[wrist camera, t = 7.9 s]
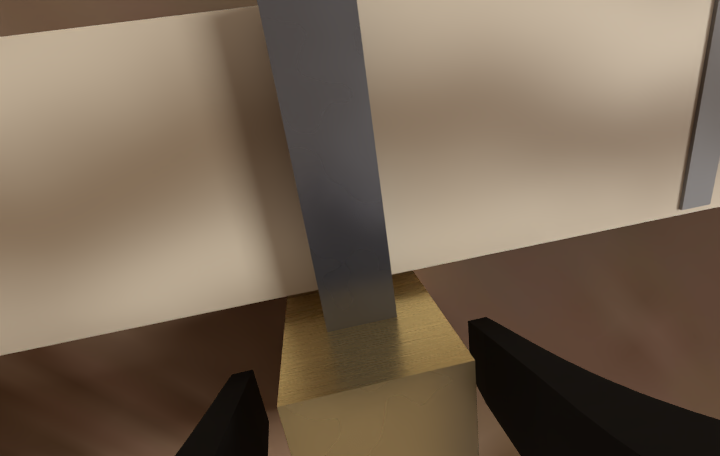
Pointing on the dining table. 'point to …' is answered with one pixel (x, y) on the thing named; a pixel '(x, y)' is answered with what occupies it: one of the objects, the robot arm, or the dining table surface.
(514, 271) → the dining table surface
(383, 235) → the marking gauge
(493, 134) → the maple board
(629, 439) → the robot arm
